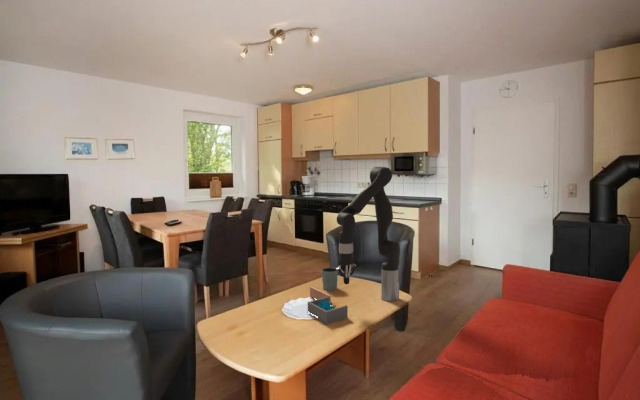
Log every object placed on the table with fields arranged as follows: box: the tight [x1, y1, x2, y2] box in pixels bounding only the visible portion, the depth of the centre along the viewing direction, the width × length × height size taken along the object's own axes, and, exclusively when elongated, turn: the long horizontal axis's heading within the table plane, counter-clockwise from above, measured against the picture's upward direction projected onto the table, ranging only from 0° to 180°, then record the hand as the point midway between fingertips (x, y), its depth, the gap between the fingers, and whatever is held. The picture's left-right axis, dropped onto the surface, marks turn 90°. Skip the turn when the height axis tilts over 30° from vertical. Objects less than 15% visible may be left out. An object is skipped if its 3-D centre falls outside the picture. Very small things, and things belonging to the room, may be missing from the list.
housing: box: [307, 297, 348, 325], centre depth 174 cm, size 13×16×6 cm
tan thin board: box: [309, 286, 332, 304], centre depth 193 cm, size 1×18×6 cm, turn 35°
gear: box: [318, 299, 337, 311], centre depth 175 cm, size 11×6×10 cm
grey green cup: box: [321, 267, 339, 292], centre depth 215 cm, size 10×10×12 cm
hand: (346, 283), depth 181 cm, fingers closed
